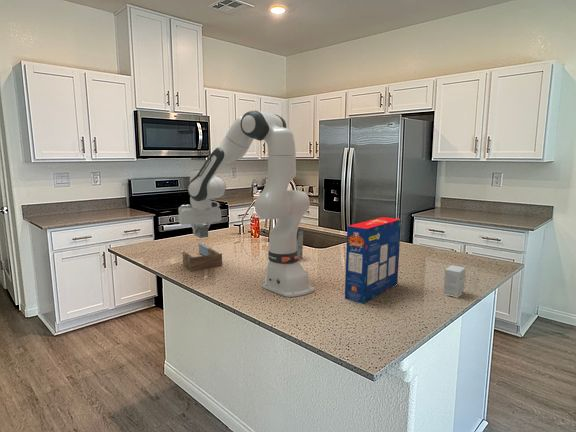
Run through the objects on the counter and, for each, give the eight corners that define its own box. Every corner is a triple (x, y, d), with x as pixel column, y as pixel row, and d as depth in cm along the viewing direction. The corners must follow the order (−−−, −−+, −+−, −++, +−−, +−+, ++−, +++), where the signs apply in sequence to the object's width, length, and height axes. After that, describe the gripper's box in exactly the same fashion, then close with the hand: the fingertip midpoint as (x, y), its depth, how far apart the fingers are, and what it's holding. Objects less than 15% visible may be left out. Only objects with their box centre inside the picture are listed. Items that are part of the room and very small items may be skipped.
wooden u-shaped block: (222, 266, 184) (221, 253, 183) (190, 271, 176) (190, 258, 175) (211, 259, 195) (211, 248, 194) (181, 264, 187) (181, 252, 186)
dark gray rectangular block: (208, 237, 181) (207, 226, 180) (200, 237, 179) (199, 227, 178) (201, 233, 188) (201, 223, 187) (193, 234, 186) (193, 224, 185)
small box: (449, 289, 155) (451, 264, 153) (463, 292, 152) (465, 267, 150) (442, 295, 149) (444, 269, 147) (457, 298, 145) (460, 272, 144)
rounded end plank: (209, 259, 195) (208, 248, 194) (198, 252, 207) (198, 242, 206) (211, 259, 196) (211, 248, 195) (201, 252, 208) (201, 242, 207)
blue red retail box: (379, 280, 166) (383, 216, 161) (397, 284, 160) (401, 219, 156) (344, 298, 145) (347, 225, 140) (363, 304, 140) (366, 228, 135)
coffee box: (281, 259, 198) (282, 228, 195) (287, 256, 203) (287, 226, 201) (297, 261, 193) (298, 230, 191) (303, 258, 199) (303, 228, 196)
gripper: (180, 206, 173) (181, 235, 175) (222, 203, 184) (223, 231, 186) (176, 204, 178) (177, 233, 180) (217, 201, 189) (217, 229, 191)
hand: (200, 232), depth 183 cm, fingers closed on dark gray rectangular block, 4 cm apart
